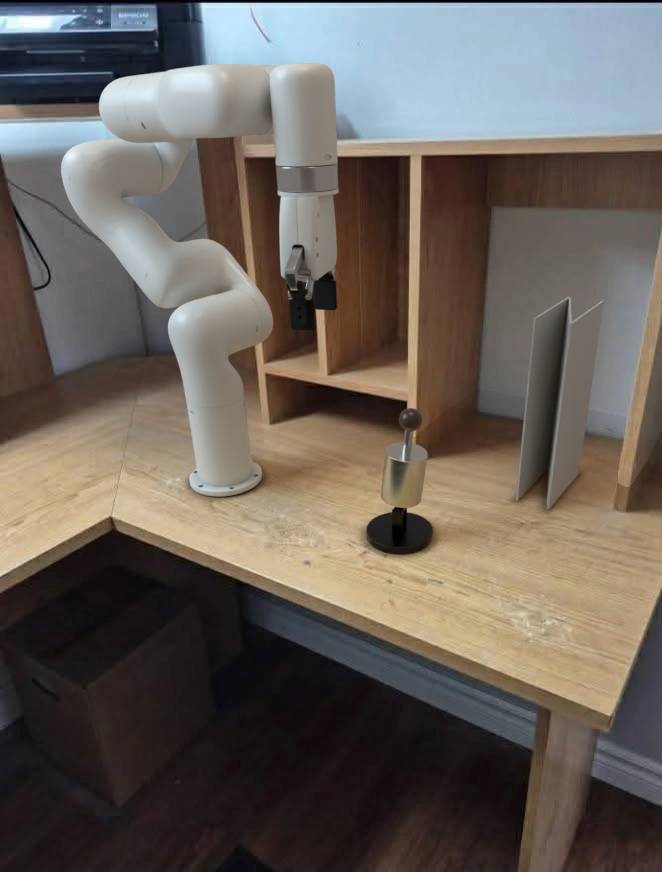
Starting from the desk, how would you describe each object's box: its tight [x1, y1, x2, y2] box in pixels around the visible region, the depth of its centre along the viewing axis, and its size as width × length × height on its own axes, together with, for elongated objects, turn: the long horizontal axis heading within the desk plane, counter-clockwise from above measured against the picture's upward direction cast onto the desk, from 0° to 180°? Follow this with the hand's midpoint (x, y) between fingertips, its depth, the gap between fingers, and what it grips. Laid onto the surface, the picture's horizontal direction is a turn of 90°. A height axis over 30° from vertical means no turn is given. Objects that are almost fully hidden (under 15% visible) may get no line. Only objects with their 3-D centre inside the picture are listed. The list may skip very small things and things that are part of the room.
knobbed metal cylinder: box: [380, 407, 429, 513], centre depth 98 cm, size 17×6×6 cm
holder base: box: [365, 508, 434, 555], centre depth 103 cm, size 10×10×5 cm
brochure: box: [515, 296, 605, 511], centre depth 109 cm, size 14×6×30 cm, turn 145°
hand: (315, 319), depth 93 cm, fingers open, 9 cm apart
